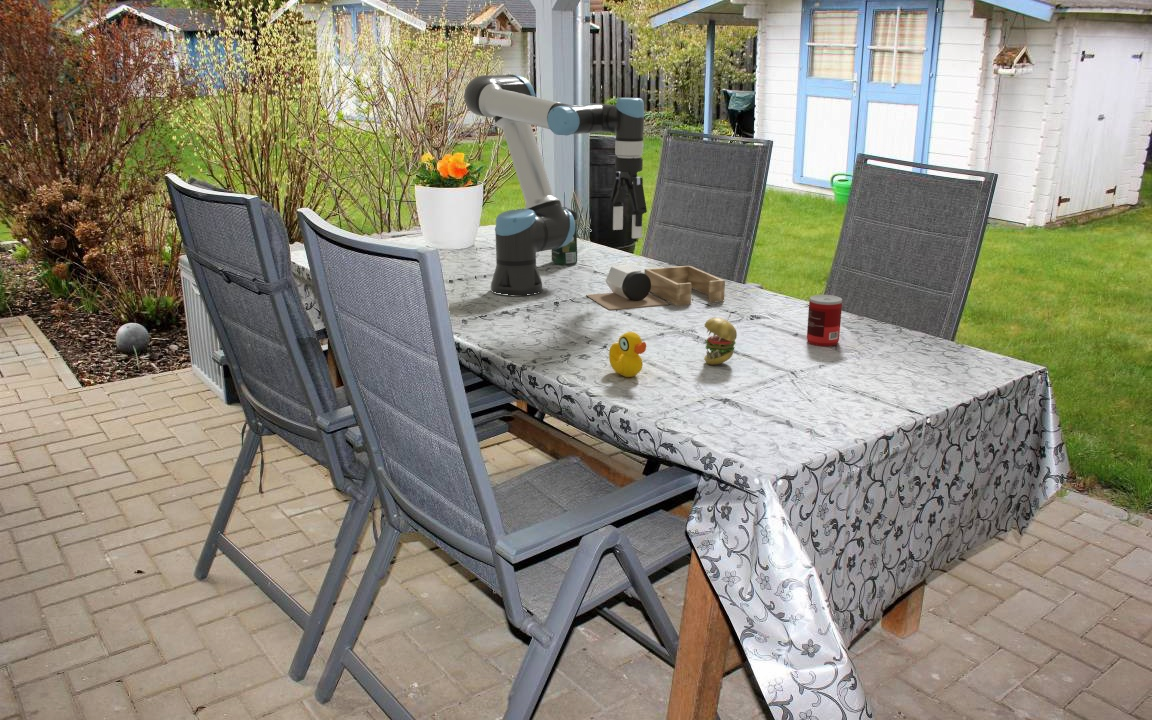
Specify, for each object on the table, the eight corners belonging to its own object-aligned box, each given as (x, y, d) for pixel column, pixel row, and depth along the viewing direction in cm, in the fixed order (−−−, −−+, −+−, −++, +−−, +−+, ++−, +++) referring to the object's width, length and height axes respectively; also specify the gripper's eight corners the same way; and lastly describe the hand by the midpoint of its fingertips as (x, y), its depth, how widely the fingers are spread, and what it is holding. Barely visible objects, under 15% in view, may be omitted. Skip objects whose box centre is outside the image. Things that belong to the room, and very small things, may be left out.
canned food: (840, 339, 245) (843, 295, 242) (837, 348, 238) (840, 303, 235) (808, 336, 248) (811, 293, 245) (804, 345, 241) (807, 300, 237)
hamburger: (701, 358, 230) (703, 308, 226) (733, 358, 230) (735, 308, 226) (704, 368, 223) (706, 316, 219) (737, 368, 222) (739, 316, 219)
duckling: (654, 380, 214) (655, 335, 212) (634, 385, 212) (635, 339, 209) (621, 367, 223) (622, 324, 220) (602, 371, 220) (603, 327, 217)
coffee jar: (548, 261, 338) (548, 206, 332) (570, 259, 340) (570, 205, 335) (557, 266, 329) (557, 210, 323) (580, 265, 331) (580, 209, 326)
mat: (609, 310, 273) (609, 309, 273) (586, 295, 289) (586, 294, 289) (669, 304, 279) (669, 303, 279) (642, 291, 295) (642, 290, 295)
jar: (605, 294, 290) (625, 304, 280) (604, 267, 288) (624, 275, 277) (632, 289, 294) (653, 298, 284) (631, 262, 291) (652, 270, 281)
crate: (676, 305, 278) (676, 284, 276) (644, 288, 298) (644, 269, 296) (724, 301, 283) (725, 280, 281) (689, 285, 303) (690, 265, 301)
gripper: (660, 160, 262) (658, 240, 269) (624, 151, 284) (622, 225, 291) (634, 161, 260) (632, 242, 266) (599, 152, 282) (598, 226, 288)
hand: (627, 233), depth 279 cm, fingers open, 13 cm apart
